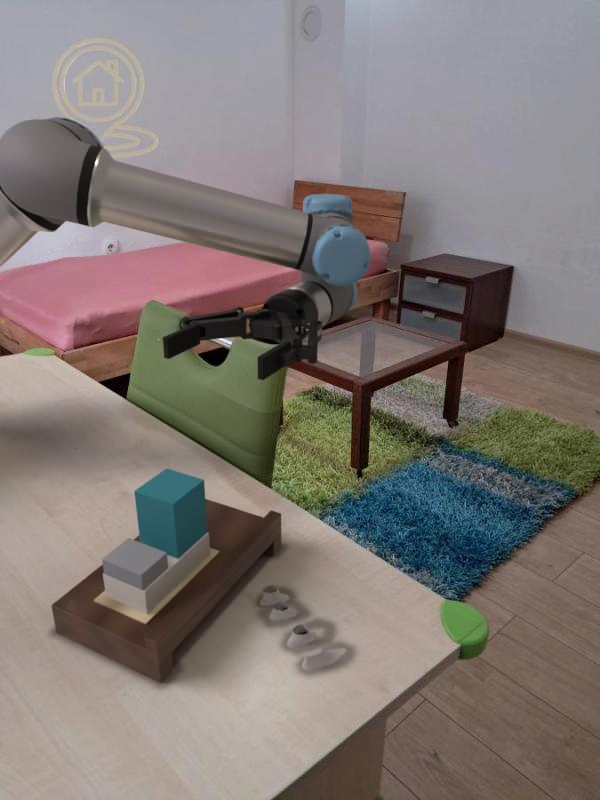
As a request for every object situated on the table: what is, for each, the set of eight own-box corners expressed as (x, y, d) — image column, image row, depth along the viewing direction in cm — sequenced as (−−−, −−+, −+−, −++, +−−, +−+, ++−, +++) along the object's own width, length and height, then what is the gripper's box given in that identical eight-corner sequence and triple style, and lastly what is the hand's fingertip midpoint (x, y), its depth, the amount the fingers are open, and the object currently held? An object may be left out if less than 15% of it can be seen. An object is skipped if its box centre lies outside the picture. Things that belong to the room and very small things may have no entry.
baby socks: (254, 607, 72) (253, 588, 71) (295, 591, 74) (295, 573, 73) (306, 683, 62) (306, 663, 61) (352, 662, 65) (353, 643, 64)
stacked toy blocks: (171, 539, 75) (165, 467, 71) (210, 554, 73) (205, 480, 69) (105, 596, 67) (94, 517, 62) (147, 614, 64) (138, 533, 60)
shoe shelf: (57, 637, 67) (48, 593, 65) (192, 521, 87) (189, 484, 84) (161, 689, 62) (156, 643, 59) (281, 552, 81) (281, 513, 78)
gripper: (373, 352, 89) (303, 408, 71) (225, 324, 99) (133, 368, 82) (377, 300, 85) (305, 346, 68) (223, 277, 96) (127, 311, 79)
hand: (211, 358), depth 75 cm, fingers open, 13 cm apart
